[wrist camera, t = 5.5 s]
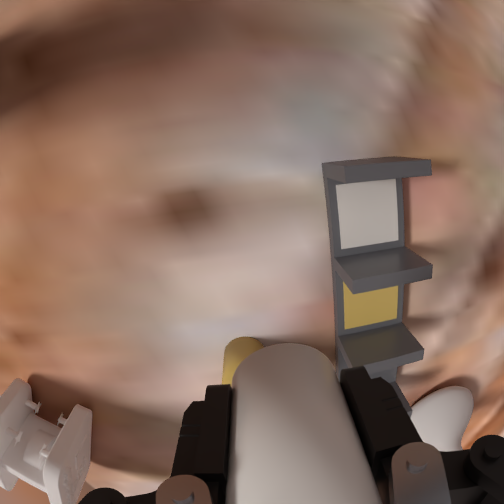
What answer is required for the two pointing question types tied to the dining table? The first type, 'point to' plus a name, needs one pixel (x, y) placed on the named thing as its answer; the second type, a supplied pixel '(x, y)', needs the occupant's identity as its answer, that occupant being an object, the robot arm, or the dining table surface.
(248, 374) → the plug white
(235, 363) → the plug mustard
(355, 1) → the dining table surface
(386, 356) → the grey compartment rack
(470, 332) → the dining table surface
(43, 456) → the cable organizer
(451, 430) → the white tapered rounded piece
